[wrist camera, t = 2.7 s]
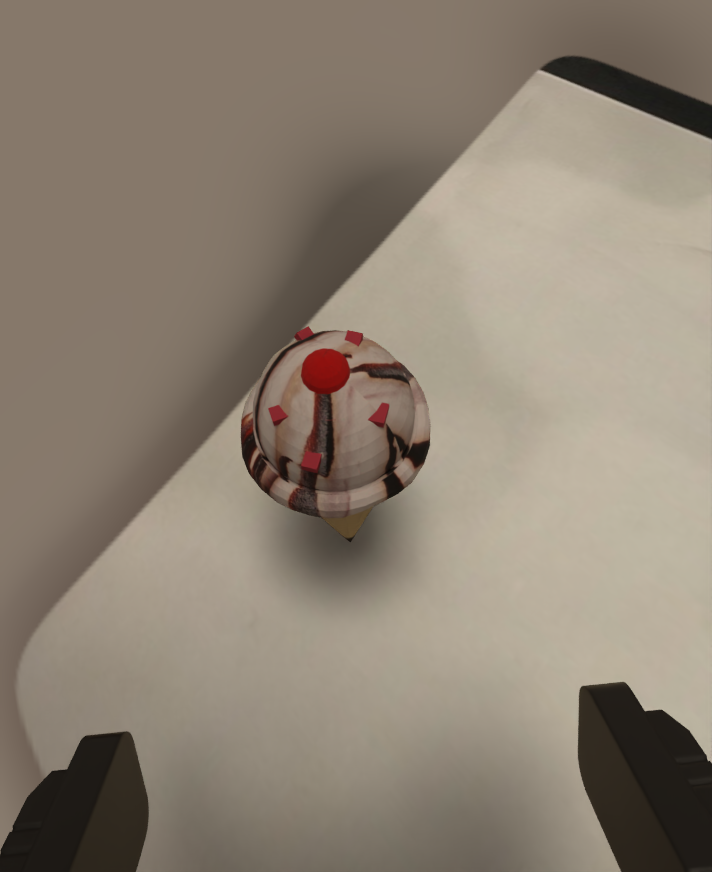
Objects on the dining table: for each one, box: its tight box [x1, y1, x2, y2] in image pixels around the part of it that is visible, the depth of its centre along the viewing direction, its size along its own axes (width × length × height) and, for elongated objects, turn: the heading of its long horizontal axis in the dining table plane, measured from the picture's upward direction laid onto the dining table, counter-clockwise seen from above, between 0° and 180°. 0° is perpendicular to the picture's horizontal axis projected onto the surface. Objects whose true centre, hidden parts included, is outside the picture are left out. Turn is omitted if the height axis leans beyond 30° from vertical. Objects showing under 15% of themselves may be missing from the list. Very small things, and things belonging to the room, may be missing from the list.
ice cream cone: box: [241, 326, 430, 542], centre depth 24 cm, size 6×6×15 cm
